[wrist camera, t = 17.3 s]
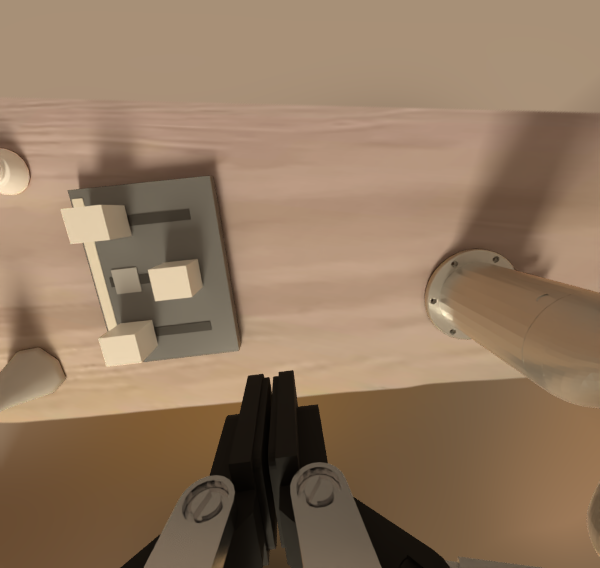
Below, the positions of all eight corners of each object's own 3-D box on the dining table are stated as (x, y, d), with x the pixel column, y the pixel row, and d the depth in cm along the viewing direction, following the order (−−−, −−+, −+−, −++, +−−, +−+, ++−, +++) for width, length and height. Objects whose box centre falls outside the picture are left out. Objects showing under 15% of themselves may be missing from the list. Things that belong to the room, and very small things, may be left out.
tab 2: (197, 258, 36) (185, 265, 32) (202, 286, 37) (192, 297, 33) (164, 262, 36) (147, 269, 32) (170, 290, 37) (155, 301, 33)
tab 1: (124, 205, 34) (100, 204, 30) (131, 235, 35) (110, 239, 31) (88, 208, 34) (60, 208, 30) (97, 239, 35) (70, 244, 31)
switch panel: (213, 177, 36) (209, 175, 34) (241, 344, 42) (238, 351, 39) (79, 191, 36) (66, 190, 34) (125, 357, 41) (116, 365, 39)
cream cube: (151, 319, 38) (134, 334, 33) (158, 345, 39) (141, 362, 34) (119, 323, 38) (98, 338, 33) (126, 348, 38) (106, 366, 34)
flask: (-2, 362, 41) (-93, 410, 31) (41, 337, 40) (-36, 379, 30) (34, 402, 42) (-40, 460, 33) (77, 379, 42) (14, 431, 32)
